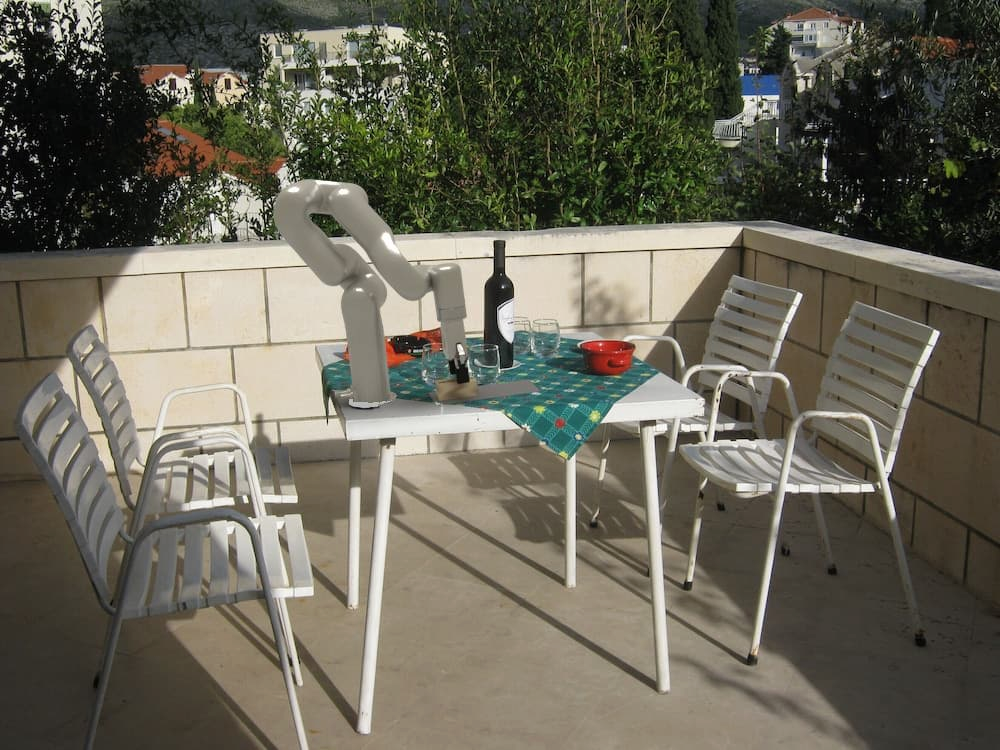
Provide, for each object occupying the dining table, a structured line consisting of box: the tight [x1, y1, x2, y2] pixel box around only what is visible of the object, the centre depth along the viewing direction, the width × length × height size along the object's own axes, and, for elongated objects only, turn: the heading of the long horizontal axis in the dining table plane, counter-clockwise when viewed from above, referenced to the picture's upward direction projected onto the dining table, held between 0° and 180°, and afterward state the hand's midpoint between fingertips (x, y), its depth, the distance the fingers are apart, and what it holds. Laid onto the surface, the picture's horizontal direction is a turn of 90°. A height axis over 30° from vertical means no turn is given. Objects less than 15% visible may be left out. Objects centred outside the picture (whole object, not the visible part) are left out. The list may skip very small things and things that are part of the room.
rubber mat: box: [428, 378, 542, 405], centre depth 276 cm, size 27×12×1 cm, turn 103°
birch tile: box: [434, 375, 479, 401], centre depth 274 cm, size 10×5×4 cm, turn 103°
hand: (459, 378), depth 274 cm, fingers open, 9 cm apart
